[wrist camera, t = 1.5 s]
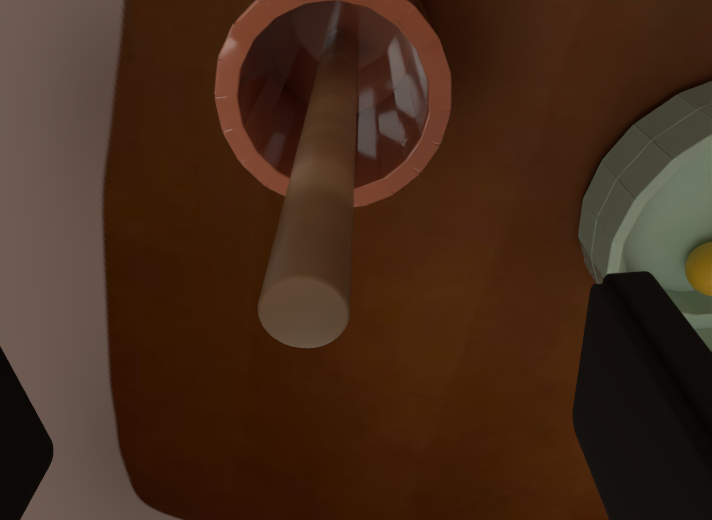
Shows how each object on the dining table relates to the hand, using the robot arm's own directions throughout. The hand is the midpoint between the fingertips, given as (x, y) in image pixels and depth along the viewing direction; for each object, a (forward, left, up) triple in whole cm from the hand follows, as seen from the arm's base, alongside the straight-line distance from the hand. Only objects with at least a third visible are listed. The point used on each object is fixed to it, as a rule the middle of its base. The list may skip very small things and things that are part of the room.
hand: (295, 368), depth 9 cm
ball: (+13, +19, -20) cm, 30 cm away
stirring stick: (0, 0, -21) cm, 21 cm away
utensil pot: (0, 0, -22) cm, 22 cm away
